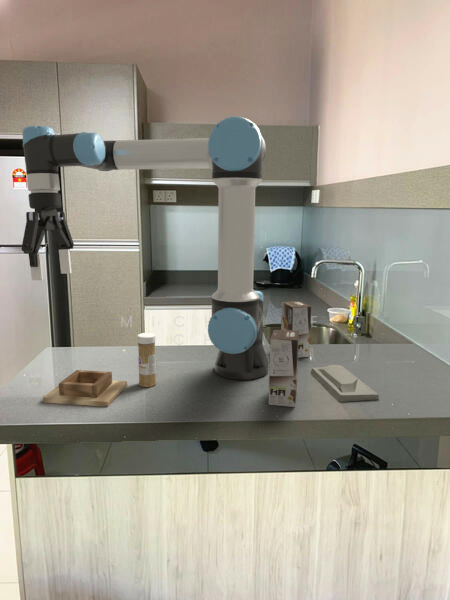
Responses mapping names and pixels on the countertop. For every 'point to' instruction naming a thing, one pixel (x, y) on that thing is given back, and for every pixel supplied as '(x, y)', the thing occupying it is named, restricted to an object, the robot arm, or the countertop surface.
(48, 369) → the countertop surface
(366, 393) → the soap mold
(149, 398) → the countertop surface
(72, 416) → the countertop surface
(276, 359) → the coffee box
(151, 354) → the sprinkles bottle
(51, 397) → the socket board
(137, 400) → the countertop surface
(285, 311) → the coffee box
